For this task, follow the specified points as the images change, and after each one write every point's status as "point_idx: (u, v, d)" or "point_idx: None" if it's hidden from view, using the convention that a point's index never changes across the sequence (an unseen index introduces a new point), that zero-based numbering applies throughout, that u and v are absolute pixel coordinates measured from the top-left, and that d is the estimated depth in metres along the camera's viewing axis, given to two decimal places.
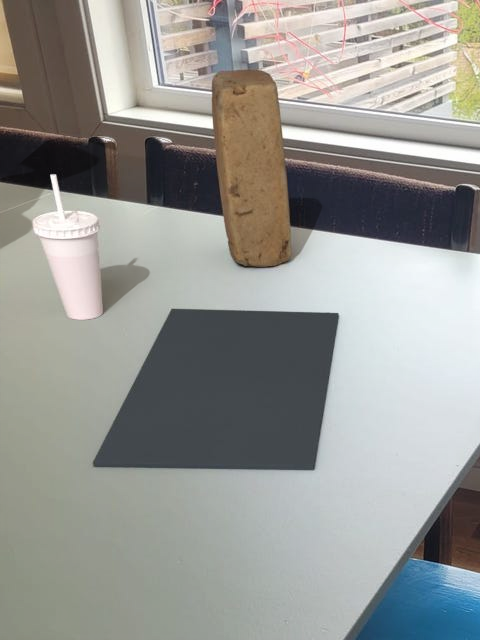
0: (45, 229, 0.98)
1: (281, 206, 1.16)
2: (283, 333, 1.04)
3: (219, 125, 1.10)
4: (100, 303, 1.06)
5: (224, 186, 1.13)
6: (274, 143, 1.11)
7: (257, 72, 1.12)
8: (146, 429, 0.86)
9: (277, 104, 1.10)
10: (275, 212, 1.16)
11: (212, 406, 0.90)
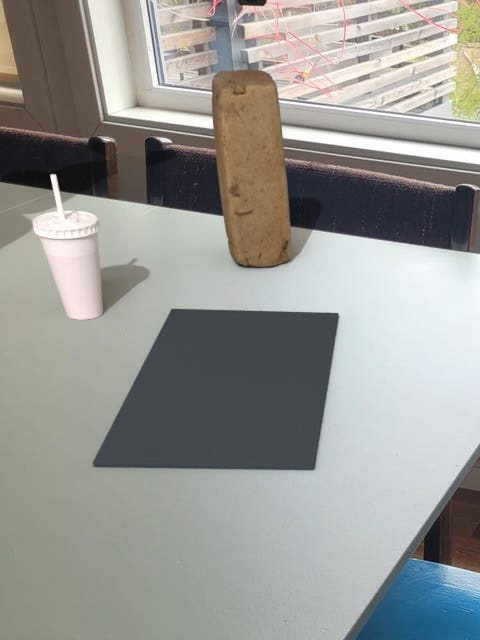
0: (45, 229, 0.98)
1: (281, 206, 1.16)
2: (283, 333, 1.04)
3: (219, 125, 1.10)
4: (100, 303, 1.06)
5: (224, 186, 1.13)
6: (274, 143, 1.11)
7: (257, 72, 1.12)
8: (146, 429, 0.86)
9: (277, 104, 1.10)
10: (275, 212, 1.16)
11: (212, 406, 0.90)
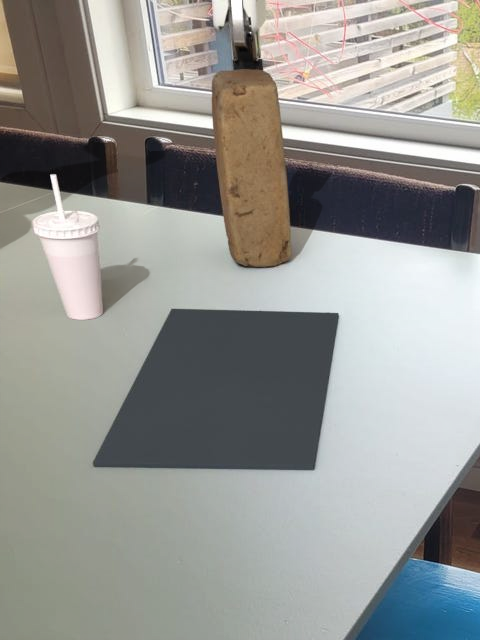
0: (45, 229, 0.98)
1: (281, 206, 1.15)
2: (283, 333, 1.04)
3: (219, 126, 1.10)
4: (100, 303, 1.06)
5: (224, 186, 1.13)
6: (274, 144, 1.11)
7: (257, 72, 1.12)
8: (146, 429, 0.86)
9: (277, 105, 1.09)
10: (275, 213, 1.16)
11: (212, 406, 0.90)
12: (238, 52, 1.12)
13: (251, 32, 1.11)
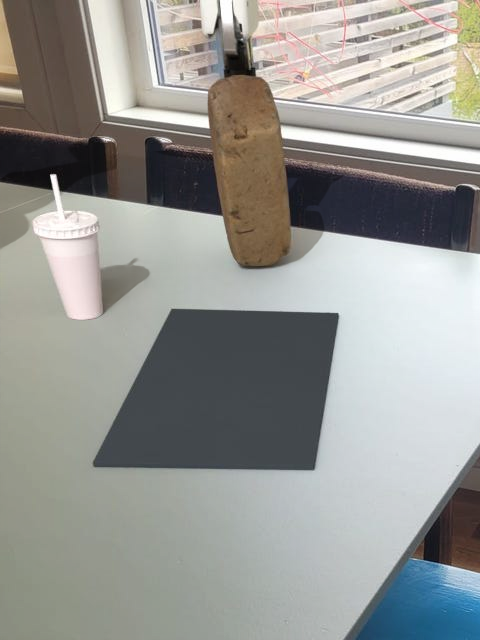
0: (45, 229, 0.98)
1: (282, 223, 1.13)
2: (283, 333, 1.04)
3: (219, 159, 1.05)
4: (100, 303, 1.06)
5: (224, 206, 1.10)
6: (276, 176, 1.07)
7: (257, 85, 1.04)
8: (146, 429, 0.86)
9: (280, 142, 1.04)
10: (276, 229, 1.14)
11: (212, 406, 0.90)
12: (229, 61, 1.05)
13: (243, 39, 1.04)
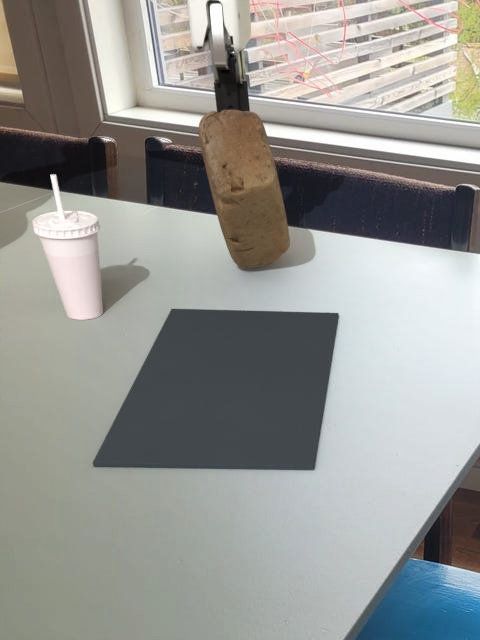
0: (45, 229, 0.98)
1: (281, 239, 1.13)
2: (283, 333, 1.04)
3: (216, 202, 1.03)
4: (100, 303, 1.06)
5: (222, 231, 1.10)
6: (274, 212, 1.06)
7: (249, 124, 1.00)
8: (146, 429, 0.86)
9: (277, 186, 1.02)
10: (275, 244, 1.13)
11: (212, 406, 0.90)
12: (219, 74, 1.01)
13: (234, 52, 1.00)
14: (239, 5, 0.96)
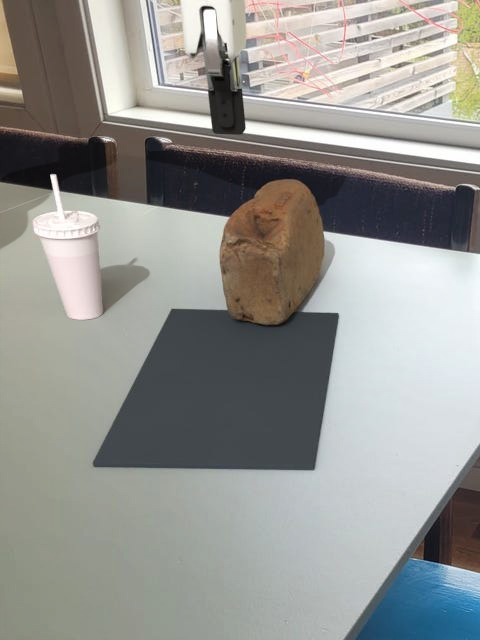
0: (45, 229, 0.98)
1: None
2: (283, 333, 1.04)
3: None
4: (100, 303, 1.06)
5: None
6: None
7: (267, 267, 1.00)
8: (146, 429, 0.86)
9: (288, 316, 1.05)
10: None
11: (212, 406, 0.90)
12: (214, 82, 0.98)
13: (228, 59, 0.97)
14: (233, 11, 0.94)
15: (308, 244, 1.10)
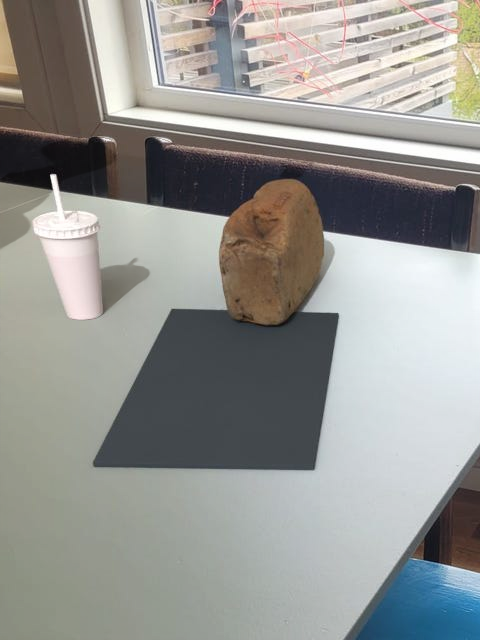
0: (45, 229, 0.98)
1: None
2: (283, 333, 1.04)
3: None
4: (100, 303, 1.06)
5: None
6: None
7: (266, 268, 1.00)
8: (146, 429, 0.86)
9: (288, 316, 1.05)
10: None
11: (212, 406, 0.90)
12: None
13: None
14: None
15: (308, 244, 1.10)
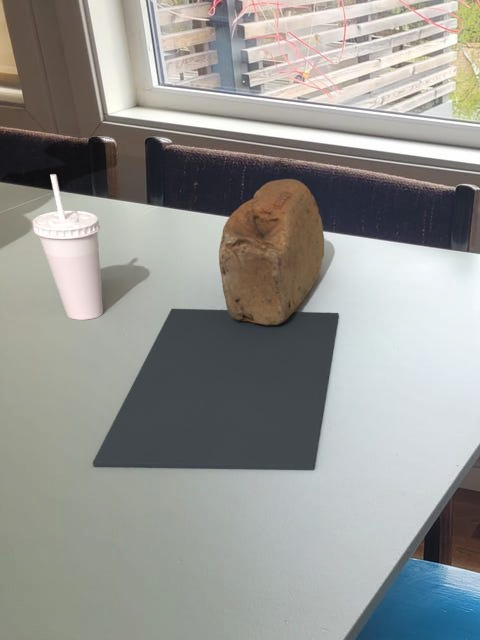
0: (45, 229, 0.98)
1: None
2: (283, 333, 1.04)
3: None
4: (100, 303, 1.06)
5: None
6: None
7: (266, 268, 1.00)
8: (146, 429, 0.86)
9: (288, 316, 1.05)
10: None
11: (212, 406, 0.90)
12: None
13: None
14: None
15: (308, 244, 1.10)
